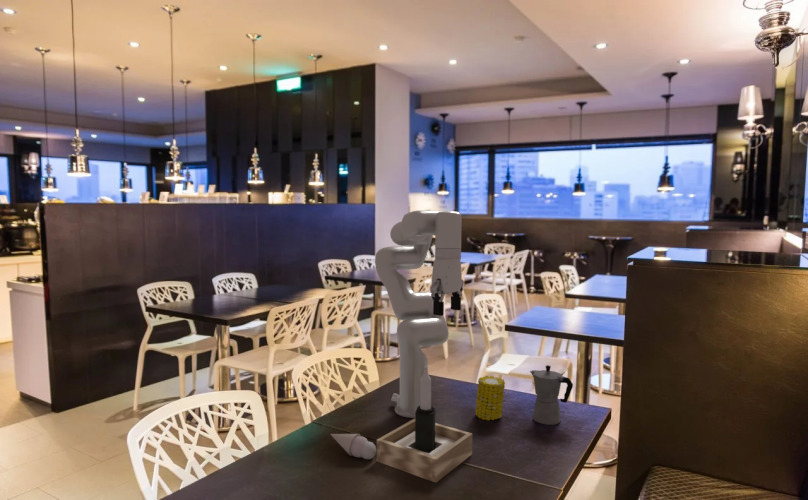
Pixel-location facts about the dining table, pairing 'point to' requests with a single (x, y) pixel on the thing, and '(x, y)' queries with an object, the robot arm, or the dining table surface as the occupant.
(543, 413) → the coffeepot
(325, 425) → the dining table surface
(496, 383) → the food
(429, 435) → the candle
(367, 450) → the ice cream cone
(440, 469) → the box
